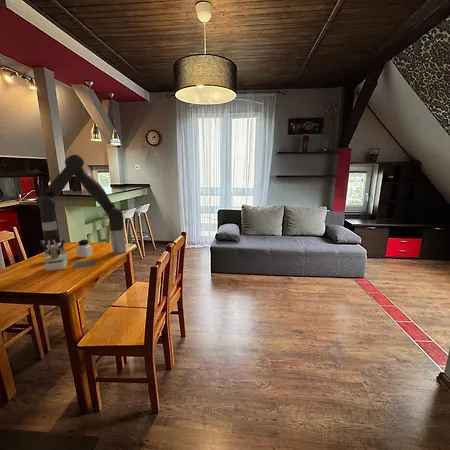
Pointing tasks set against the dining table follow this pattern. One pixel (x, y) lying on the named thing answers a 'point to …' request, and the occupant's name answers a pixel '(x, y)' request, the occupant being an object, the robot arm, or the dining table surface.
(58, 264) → the white open box
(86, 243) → the medicine bottle
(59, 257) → the lid
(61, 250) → the light bulb box
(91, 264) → the mat
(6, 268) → the dining table surface
